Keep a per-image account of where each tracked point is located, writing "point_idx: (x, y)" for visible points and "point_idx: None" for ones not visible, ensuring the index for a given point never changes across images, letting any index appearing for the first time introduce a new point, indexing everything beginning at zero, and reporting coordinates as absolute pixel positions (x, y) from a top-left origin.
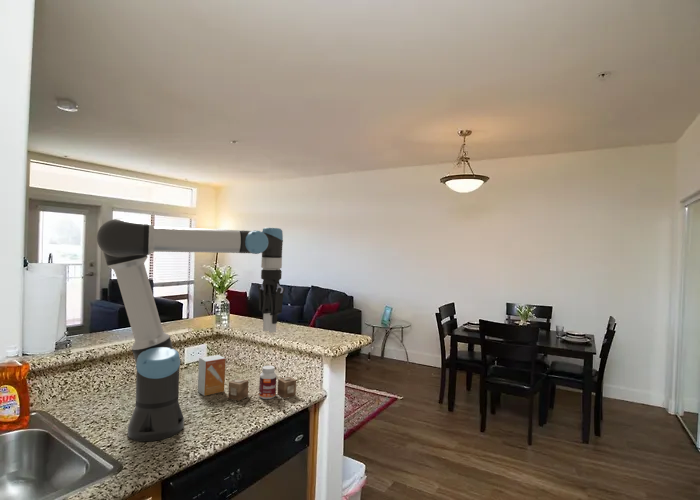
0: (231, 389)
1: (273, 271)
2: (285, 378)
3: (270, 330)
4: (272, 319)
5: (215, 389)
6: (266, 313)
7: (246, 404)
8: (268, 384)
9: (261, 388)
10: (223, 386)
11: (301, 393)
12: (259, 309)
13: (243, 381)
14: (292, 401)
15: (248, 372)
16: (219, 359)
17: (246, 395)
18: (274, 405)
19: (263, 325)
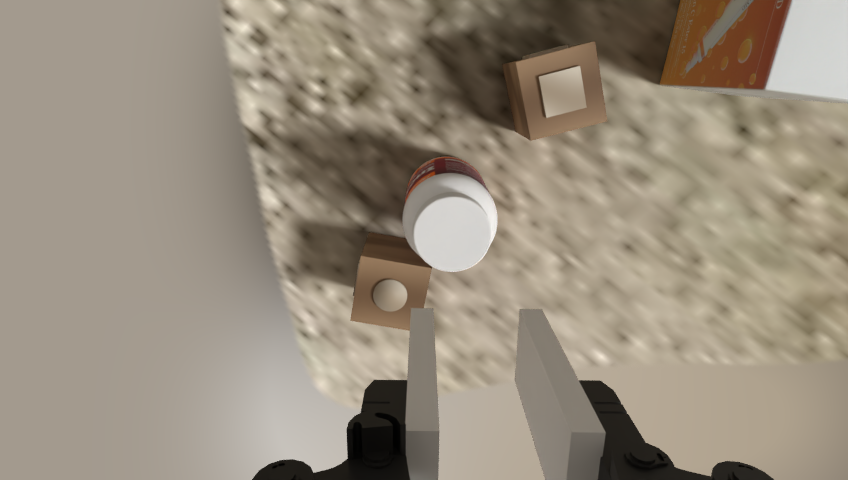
0: (560, 46)
1: None
2: (404, 296)
3: (410, 320)
4: (401, 412)
5: (681, 31)
6: (590, 478)
7: (437, 62)
8: (411, 187)
9: (444, 163)
10: (672, 79)
11: (363, 324)
12: (755, 474)
13: (539, 109)
14: (317, 235)
15: (777, 335)
16: (779, 37)
17: (514, 120)
18: (335, 149)
19: (550, 338)
